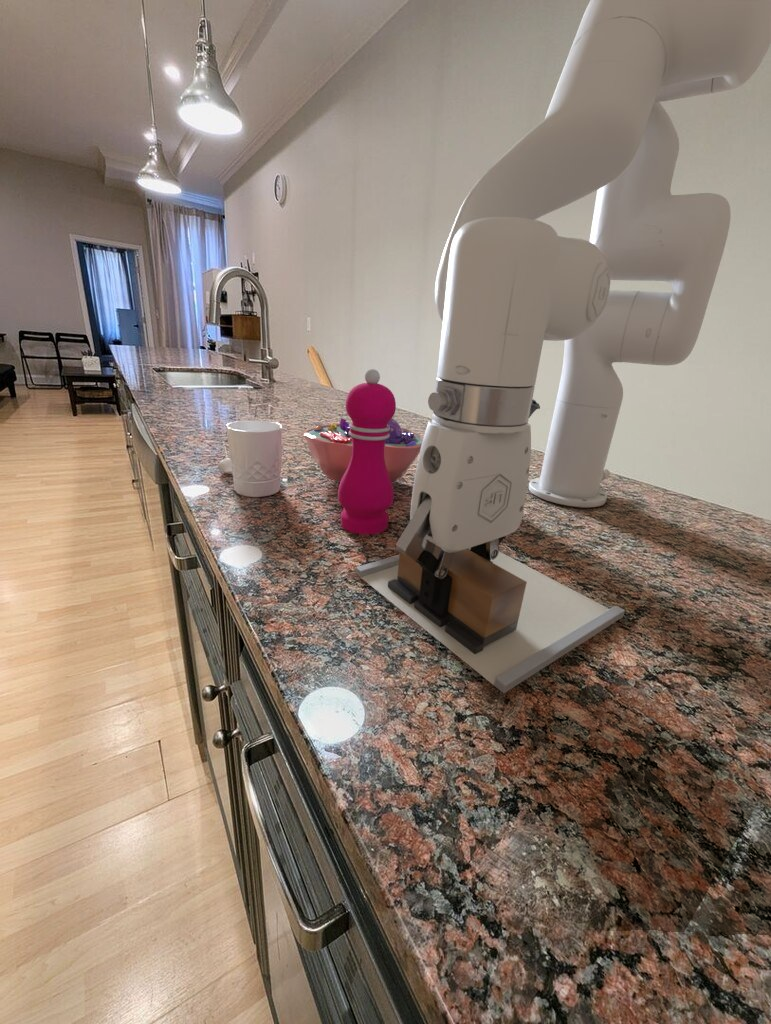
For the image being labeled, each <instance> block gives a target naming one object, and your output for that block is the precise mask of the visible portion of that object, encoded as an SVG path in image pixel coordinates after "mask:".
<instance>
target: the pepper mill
mask: <svg viewBox="0 0 771 1024" xmlns="http://www.w3.org/2000/svg"><path fill="white" fill-rule="evenodd" d="M380 379H381V375H380V372H379V371H378V370H377V369H375V368H370V369H368V370H366V371H365V373H364V380H365V382H361V383H359V384H356V385H355V386H353V387H352V388H351V389H350V390H349V391H348V393H347V395H346V399H345V412H346V415H348V417H349V418H350V420H351V422H349V423H350V424H349V427H350V431H349V435H350V436H351V437H352V456H351V460H350V463H349V466H348V468H347V470H346V472H345V473H344V475H343V477H342V479H341V482H339V486H338V491H337V500H338V502H339V504H340V506H341V507H342V508H343V510H341V512H340V526H341V528H342V529H344V530H345V531H347V532H349V533H351V534H357V535H376V534H381V533H382V532H385V531H386V530H387V529H388V527H389V513H388V512H387V510H388V509H389V508H390V507H391V506H392V505H393V503H394V496H395V495H394V493H395V491H394V487H393V482H392V481H391V479H390V476H389V473H388V471H387V468H386V464H385V459H384V447H385V441H386V439H387V438H389V436H390V434H389V430H390V426H389V425H387V424H388V422H389V420H390V419H391V418H393V417H394V415H395V413H396V410H397V409H396V408H397V404H396V403H397V402H396V398H395V394H393V392H392V391H391V390H390V388H388V387H387V386H385V385H384V384H381V383H379V382H380Z"/></svg>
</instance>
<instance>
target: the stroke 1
mask: <svg viewBox="0 0 771 1024" xmlns="http://www.w3.org/2000/svg"><path fill="white" fill-rule="evenodd" d="M388 587H389V588H390V589H391V590H392V591H394V592H395V593H396V594H398V595H399V596H400V597H401V598H403V599H404V600H405V601H407V602H408V603H409V604H412V603H414V602H415V601H418V595H417V594H415V593H414V592H413V591H411V590H410V589H409V588H407V587H406V586H405V585H403V584H402V583H400V582H399V581H398V580H396V579H394V580H391V581H388Z"/></svg>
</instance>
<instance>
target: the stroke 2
mask: <svg viewBox="0 0 771 1024" xmlns="http://www.w3.org/2000/svg"><path fill="white" fill-rule="evenodd" d="M414 608H415V609H417V610H418V611H419V612H421V613H422V614H423V615H425V616H426V617H427V618H428V619H430V620H431V621H432V622H434V623H435V624H436V625H437V626H439V627H442V626H444V625H447V624H448V620H449V618H448V617H447V616H446V615H443V616H439V615H438V614H436V613H435V612H434V611H432V610H431V609H430V608H428V607H427V606H426V605H424V604H423V603H422V602H421V601H420V600H418V601H415V604H414Z"/></svg>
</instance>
